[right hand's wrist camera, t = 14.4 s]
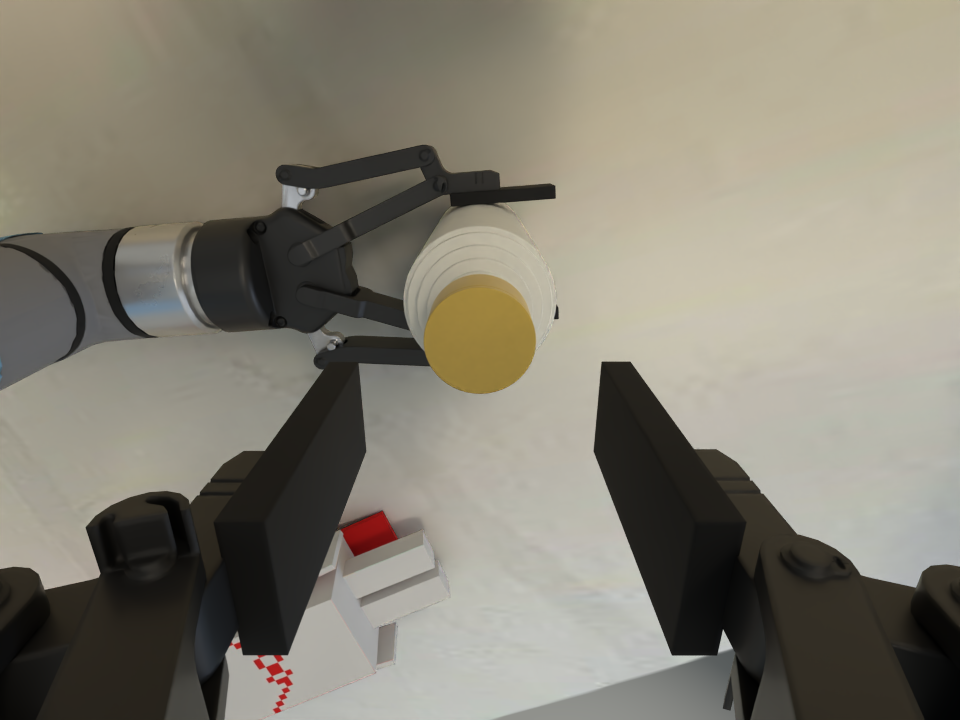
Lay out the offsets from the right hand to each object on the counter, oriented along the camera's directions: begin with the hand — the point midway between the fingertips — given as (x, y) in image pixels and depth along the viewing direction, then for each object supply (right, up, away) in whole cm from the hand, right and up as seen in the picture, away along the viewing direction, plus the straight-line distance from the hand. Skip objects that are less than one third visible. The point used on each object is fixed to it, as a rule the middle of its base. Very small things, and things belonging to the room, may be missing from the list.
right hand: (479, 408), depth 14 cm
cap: (0, +2, +5) cm, 6 cm away
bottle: (0, +11, +27) cm, 29 cm away
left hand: (+5, +9, +21) cm, 23 cm away
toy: (-18, -20, +39) cm, 48 cm away
